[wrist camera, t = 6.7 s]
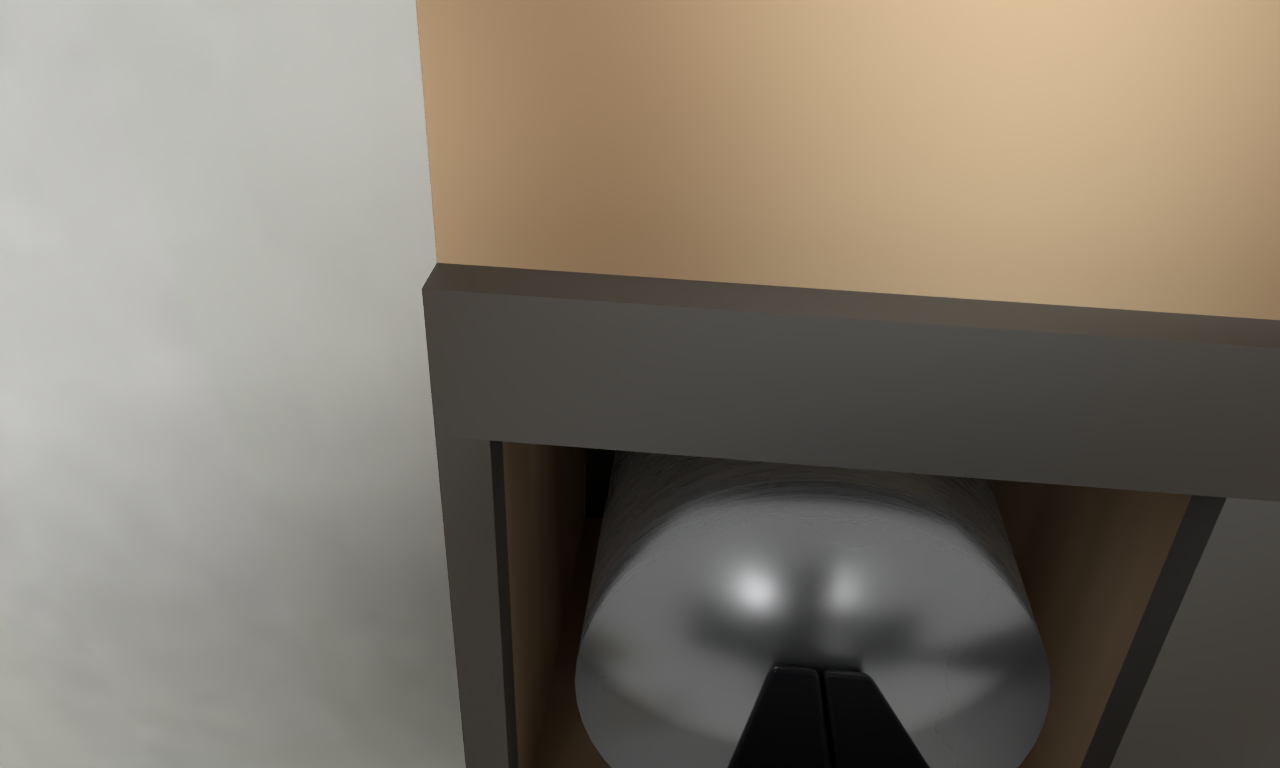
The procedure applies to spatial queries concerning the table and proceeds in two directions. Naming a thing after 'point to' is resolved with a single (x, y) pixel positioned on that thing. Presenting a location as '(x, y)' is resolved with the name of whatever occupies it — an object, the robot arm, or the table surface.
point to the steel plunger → (803, 607)
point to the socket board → (872, 318)
